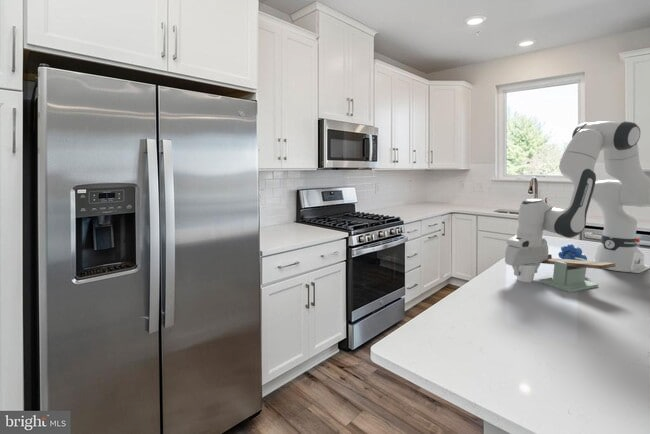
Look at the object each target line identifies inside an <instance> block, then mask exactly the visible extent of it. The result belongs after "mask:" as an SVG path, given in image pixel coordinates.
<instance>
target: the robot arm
mask: <svg viewBox="0 0 650 434" xmlns="http://www.w3.org/2000/svg"><path fill="white" fill-rule="evenodd" d="M640 139H641V128H640V126H639V125H638V124H637V123H635V122H631V121H626V120H625V121H615V120H605V121H595V122H594V121H593V122H592V121H588V122H583V123H580V124H579V125H577V126H576V127H575V129H574V130H573V132H572V136H571V139H570V141H569V143H568V144H567V146H566V148H565V150H564V151H563V153H562V156H561V158H560V160H559V164H558V165H559V166H558V168H559V171H560V173H561V175H563V176H564V177H565V178H566V179H567V180H570V181H571V182H572V183H573V186H574V187H573V191H572V196H571V199H570V202H569V205H568V207H567V208H566V209H565V208H559V207H554V206H552V205H550V204H548V203H547V202H545V201H544V199H541V198H528V199H524V200H523V201H522V202H521V203H520V205H519V208H518V209H519V210H518V215H517V216H518V217H517V223H518V227H517V229H516V234H514V235H513V236H511V237H509V238H507V239H506V245H507V246H506V249H505V253H504V263H505V264H506V265H508V266H511V267H512V270H513V274H514V276H516V277H517V276H520V273H521V271H519V269H518V268H519V267H520V265H524V264H531V263H535V264H536V270H535V274H537V273H538V269H539V267H540V265H541V263H540V262H543V260H547V259H548V254H549V246H548V241H547V239H546V238H543V231H545V232H549V233H553V234H557V235H560V236H562V237H565V238H569V239H571V238H575V237H577V236H579V235H580V234H581V233H582V232H583V231H584V230H585V228H586V224H587V214H588V211H589V206H590V203H591V201H593V202H594V203H595V204H596V205H597V206H598V207H599V209H600V210H601V211H602V215H603V231H602V232H603V233H602V234H601V237H600V242H601V243H600V244H599V245H597V248H596V253H595V256H594V259H591V261H594V262H607V263H615V266H616V267H610V268H605V269H604V270H611V271H616V272H625V273H635V274H641V273H643V272H645V271H647V270H649V269H650V265H648V264H646V263H644V262H645V254H644V253H643V252H642V251H641V250H640V249H639V248H638V247H637V246H638V244H639V243H640V242H641V238H640V237H636V235H637V228H638V221H637V219H636V218H635V217H634V216H633V215H632V214H630V213H627V212H626V210H625V209H624V207H625V206H626V207H637V208H646V207H647V208H648V207H650V177H649V176H648V175H647V174H646V173H645V172H644V171H643V169H642V166H641V163H640V155H639V146H638V142H639V140H640ZM601 151H603V161H604V168H605V172H606V174H607V175H609V176H610V177H611V178H614V179H602V180H597V174H596V172H595V165H596V163H597V161H598V158H599V156H600V153H601ZM623 206H624V207H623Z"/></svg>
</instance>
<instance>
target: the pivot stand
mask: <svg viewBox="0 0 650 434" xmlns="http://www.w3.org/2000/svg"><path fill="white" fill-rule="evenodd" d="M575 260H582V261H588V259H587V260H584V259H580V258H575ZM553 267H554V268H553V274H552V277H547V278H542V279H539V283H542V284H544V285H546V286H550V287H553V288H556V289H559V290H562V291H565V292H567V293H568V292H569V293H574V292H575V293H576V292H579V291H584V290H587V289H595V288H598V287H599V283H595V282H592V281H589V280H586V272H587V268H585V267H575V266H571V267H567V263H564V262H560V261H555V264H553Z"/></svg>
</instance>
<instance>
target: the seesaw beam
mask: <svg viewBox="0 0 650 434" xmlns="http://www.w3.org/2000/svg"><path fill="white" fill-rule="evenodd" d="M555 261H560V262H564V263H567V267H571V266H575V267H585V268H586V269H595V270H596V269H598V270H606V269H605V268H610V267H616V266H615V263H607V262H594V261H592V260H587V261H582V260H570V259H561V258H555V257H553V256H552V254H550V253H548V259H547V260H543V262H540V264H544V265H545V264H546V265H554V264H555Z"/></svg>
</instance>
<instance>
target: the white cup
mask: <svg viewBox="0 0 650 434" xmlns="http://www.w3.org/2000/svg"><path fill="white" fill-rule="evenodd" d="M518 269H519V271H521V273H520V276H516V280H517V279H518V281H519V282H522V281H523V283H533V282H534V278H535V274H536V273H535V270H536V264H535V263H531V264H524V265H520V267H519V268H518ZM532 281H533V282H532Z"/></svg>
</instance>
